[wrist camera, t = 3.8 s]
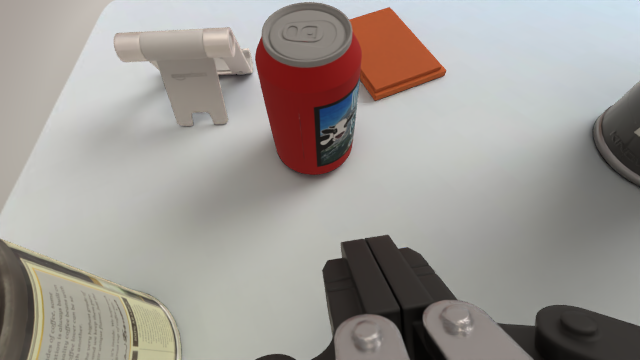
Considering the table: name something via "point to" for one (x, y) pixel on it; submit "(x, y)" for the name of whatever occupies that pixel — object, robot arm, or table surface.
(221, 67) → the tablet stand
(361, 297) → the robot arm
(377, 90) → the folded cloth
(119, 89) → the table surface
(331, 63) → the beverage can
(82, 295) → the coffee can
